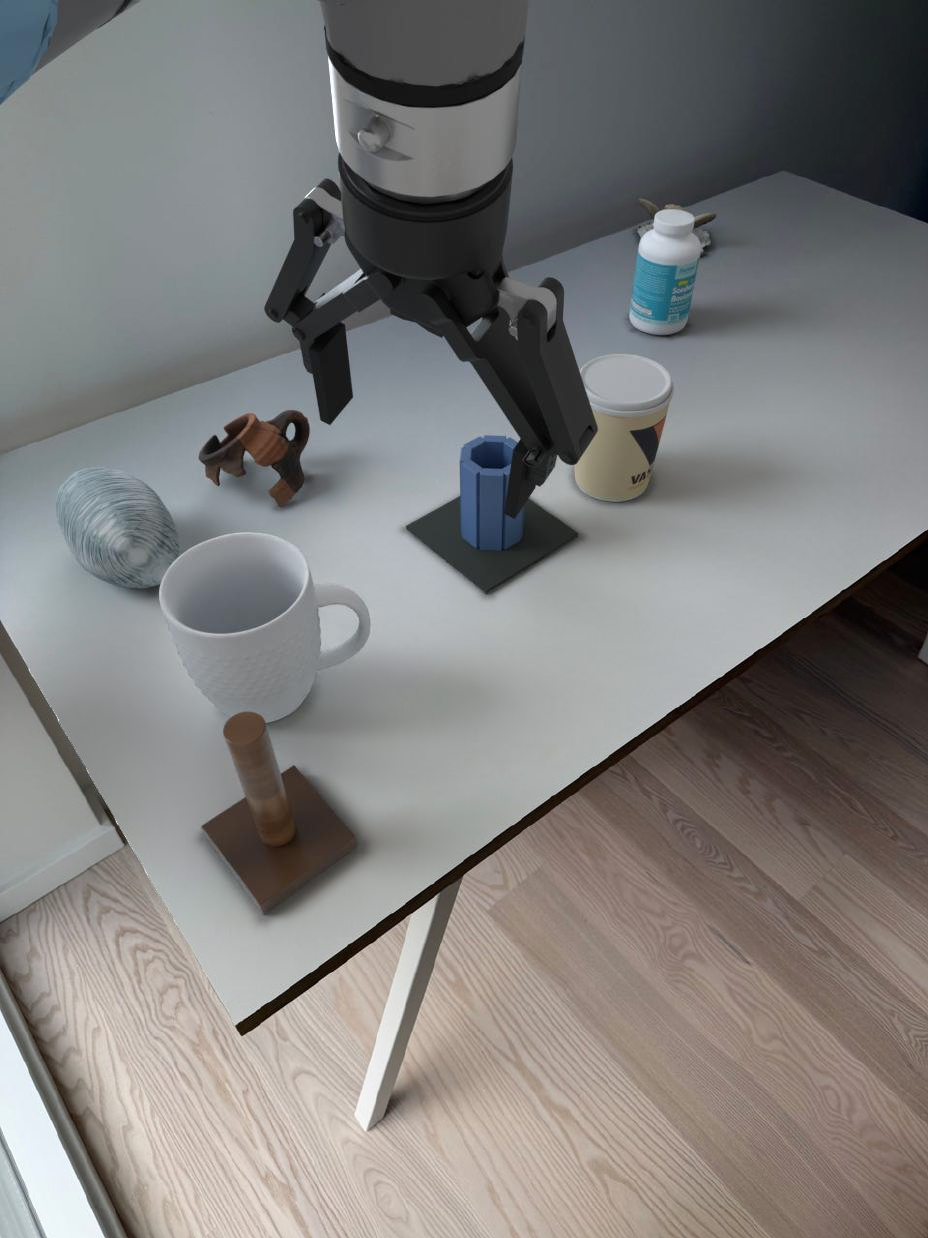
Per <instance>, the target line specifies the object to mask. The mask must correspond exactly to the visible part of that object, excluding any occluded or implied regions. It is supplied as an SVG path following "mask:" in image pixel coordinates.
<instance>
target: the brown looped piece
mask: <svg viewBox="0 0 928 1238" xmlns="http://www.w3.org/2000/svg"><path fill="white" fill-rule="evenodd" d="M290 424H293V426H294V434H293V435H294V436H293V438H292V439H291V440H290V439H289V437H287V431H288V428H289V426H290ZM223 430H224V432H225V433H226V434H227V435H226V436H225V437H224V438H223V439H222V440H221V441H220V439H219V437H218V435H217V434H214V435H212V436H211V437H210V438H209V439H208V440H207V441H206V443H204V445H203V446H202V447H201V449H200V450H199V452H198V460H199V462H201V463H202V465H204V473H205V478H207V479H209V480H210V481H211V482H213V484H214V485H215V486H216V487H220V486H221V482H220V481H221V480H220V475H221V471H222V472H224V473H226V474H229V475H232V476H233V477H235V478H240V477H244V476H246V475H247V472H246V469H245V468H244V456H245V454H246V452H247V453H248V454H249V455H250V456H251V457H252V459H253V461H254V462H255V463H256V464H257V465H259V466H261V467H264V468H267V467H271V469H273V470H274V471H275V472H276V473H278V475H279V477H280V478H279V480H278V481H277V482H276V483H275V484H274V485H273V486H272V487H271V488H269V490H268V494H269V495H270V497H271V498H272V499H274V501H275V503H276V504H277V506H278V507H283V506H284V505H286V504H287V503H288V502H289V501H291V500H292V499H293V497H294V496H296V494H297V493H298V492H299V491H300V489H302V488H303V486H304V485H305V482H306V476H305V473H304V471H303V467H302V464H301V456H302V453H303V452H304V450H305V448H306V446H307V445H308V442H309V439H310V433H311V428H310V423H309V419H308V417H306V416H305V415H304V413H303V412H302V411H299V410H297V409H287V410H284V411H282V412H280V413H279V414H278V415H276V416H274V417H273V418H271V419H270V420H266V421H264V420H261V421H260V419H259V418H258V417H257V415H256V414H255V413H253V412H247V413H245V414H243V415H240V416H238V417H237V418H234V419H233V420H232V421H230V422H229V423H227V424H226V425H224V426H223Z"/></svg>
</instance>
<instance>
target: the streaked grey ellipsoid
mask: <svg viewBox="0 0 928 1238" xmlns="http://www.w3.org/2000/svg"><path fill="white" fill-rule="evenodd" d="M55 497H56V498H55V499H56V500H55V513H56V522H57V524H58V527H59V530H60V533H61V535H62V538H63V540H64V541H65V543H66V546H67V547H68V550H69V551H70V552H71V554H72V556H73V557H74V558H75V560H76V561H77V563H78V564H79V565H80V566H81V567H82V568H83V569H84V570H85V571H86V572H87V573H89V574H90V575H92V576H93V577H95V578H97V579H99V580H100V581H102V582H106V583H108V584H111V585H113V586H117V587H122V588H131V589H148V588H153V587H156V586H157V587H158V586H160V585H161V581H162V579H163V577H164V575H165V573H166V571H167V570H168V568H169V567H170V565H171V564H172V563H173V562H174V561H175V560H176V559H177V558H178V557H179V556H180V555H181V547H180V540H179V533H178V530H177V528H176V525H175V523H174V520H173V518H172V516H171V513H170V511H169V509H168V508H167V506H166V505H165V503H164V502H163V500H162V499H161V497H160V496H159V495H158V493H157V492H156V491H155V490H154V489H153V488H151V486H150V485H148V484H147V483H145V482H144V481H143V480H142V479H139V478H137V477H136V476H134V475H132V474H130V473H127V472H125V471H122V470H119V469H116V468H112V467H101V466H100V467H99V466H91V467H86V468H83V469H79V470H77V471H74V472H73V473H72V474H71V475H70V476H69V477H68V478H67V479H66V480H64V482H63V483H62V484H61V485H60V486H59V489H58V491H57V493H56V496H55Z"/></svg>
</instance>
